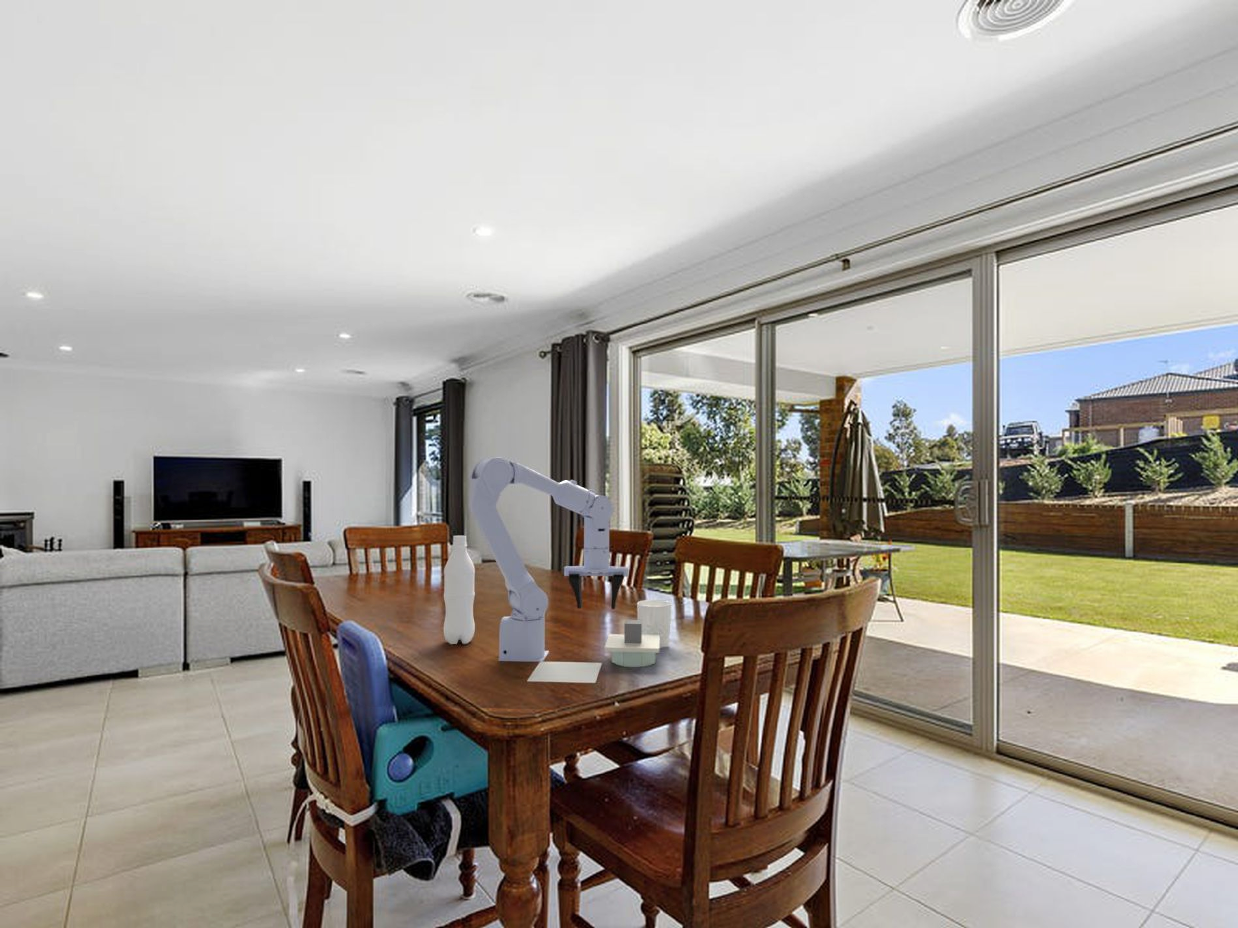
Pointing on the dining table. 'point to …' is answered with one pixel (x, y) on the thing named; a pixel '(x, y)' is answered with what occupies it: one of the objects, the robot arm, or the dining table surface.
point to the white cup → (655, 619)
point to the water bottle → (459, 594)
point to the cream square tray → (566, 672)
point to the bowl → (633, 659)
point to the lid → (633, 639)
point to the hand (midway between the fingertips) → (596, 607)
